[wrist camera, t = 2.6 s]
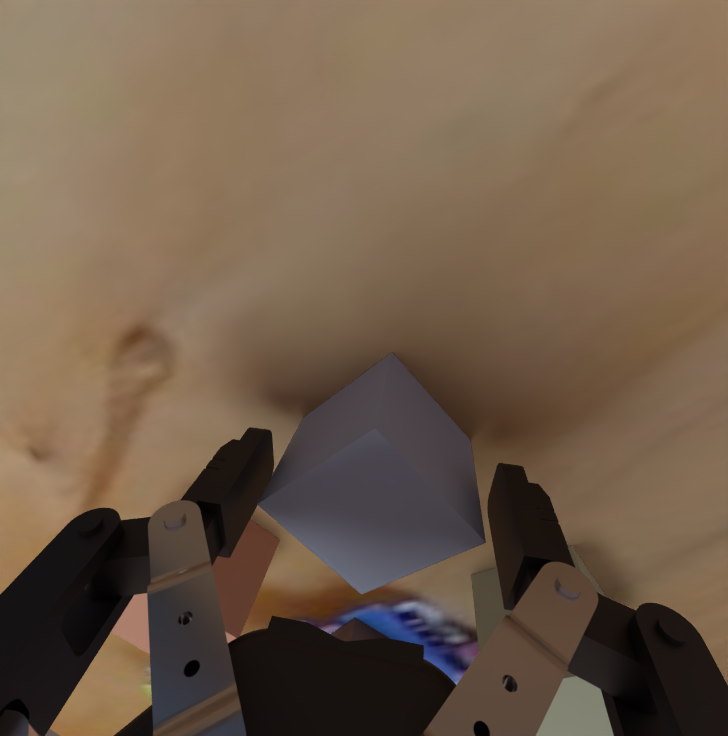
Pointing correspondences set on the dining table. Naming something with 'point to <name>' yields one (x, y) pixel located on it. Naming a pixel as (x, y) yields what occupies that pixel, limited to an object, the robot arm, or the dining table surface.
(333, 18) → the dining table surface
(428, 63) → the dining table surface
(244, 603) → the terracotta cube
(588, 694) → the sage green cube
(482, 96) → the dining table surface
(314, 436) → the slate blue cube
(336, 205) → the dining table surface
